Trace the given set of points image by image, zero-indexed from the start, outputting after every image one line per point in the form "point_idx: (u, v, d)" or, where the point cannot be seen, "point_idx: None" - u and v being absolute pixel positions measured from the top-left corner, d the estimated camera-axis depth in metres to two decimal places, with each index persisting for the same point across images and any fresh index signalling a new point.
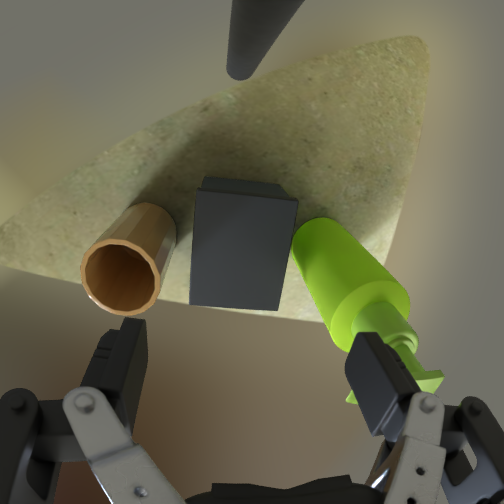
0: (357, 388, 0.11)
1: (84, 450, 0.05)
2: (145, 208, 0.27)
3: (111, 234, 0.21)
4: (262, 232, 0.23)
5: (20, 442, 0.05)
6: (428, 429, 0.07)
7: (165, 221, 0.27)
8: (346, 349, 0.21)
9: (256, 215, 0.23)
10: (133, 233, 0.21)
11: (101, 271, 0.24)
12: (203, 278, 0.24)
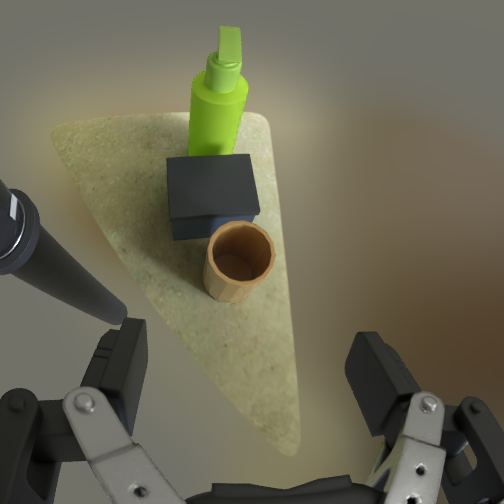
0: (357, 388, 0.11)
1: (84, 450, 0.05)
2: (203, 273, 0.35)
3: (208, 265, 0.28)
4: (191, 173, 0.33)
5: (20, 442, 0.05)
6: (428, 429, 0.07)
7: None
8: (245, 92, 0.30)
9: (180, 179, 0.32)
10: None
11: None
12: (235, 203, 0.33)
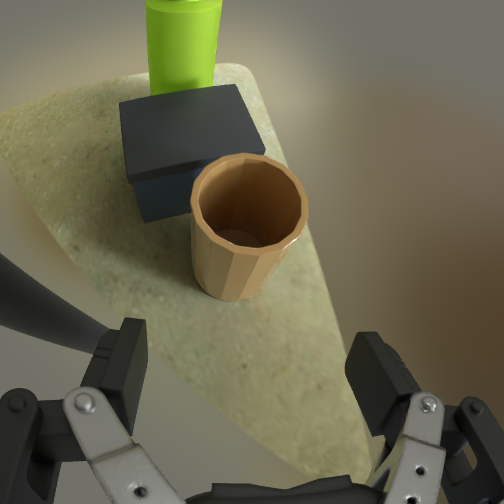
0: (357, 388, 0.11)
1: (83, 450, 0.05)
2: (192, 259, 0.22)
3: (197, 231, 0.16)
4: (156, 114, 0.21)
5: (20, 442, 0.05)
6: (428, 429, 0.07)
7: None
8: (218, 0, 0.18)
9: (140, 123, 0.20)
10: None
11: None
12: (225, 143, 0.20)
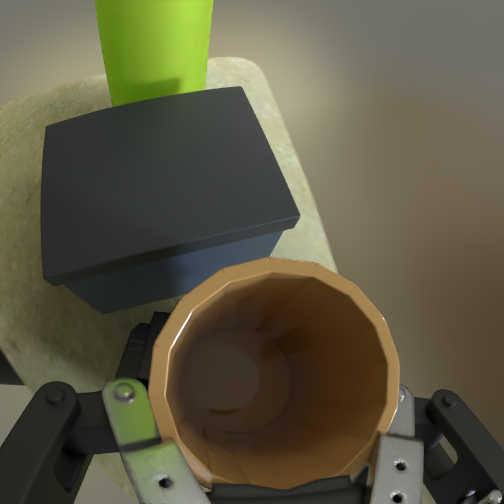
0: None
1: (116, 437, 0.06)
2: None
3: None
4: (100, 145, 0.11)
5: (52, 435, 0.05)
6: (400, 421, 0.07)
7: None
8: None
9: (72, 165, 0.11)
10: None
11: (316, 438, 0.09)
12: (225, 205, 0.11)
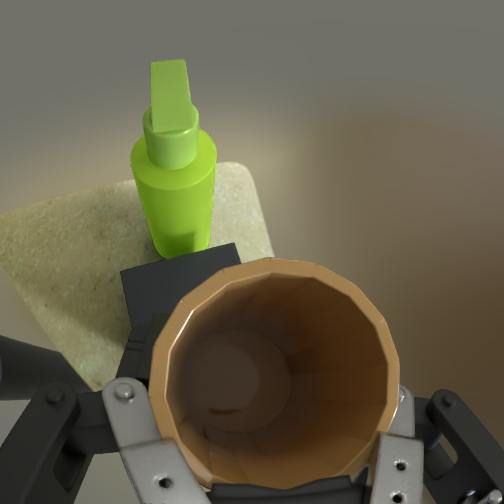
0: None
1: (116, 437, 0.06)
2: None
3: None
4: (158, 290, 0.23)
5: (52, 435, 0.05)
6: (400, 421, 0.07)
7: None
8: (212, 159, 0.21)
9: (144, 302, 0.23)
10: None
11: (316, 438, 0.09)
12: None
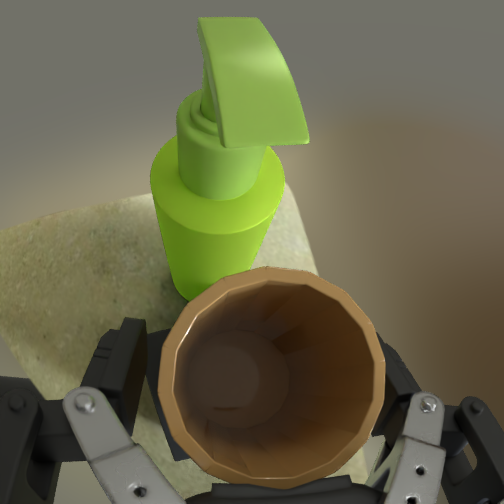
0: None
1: (83, 449, 0.05)
2: None
3: None
4: None
5: (20, 442, 0.05)
6: (428, 429, 0.07)
7: None
8: (279, 183, 0.14)
9: None
10: None
11: (311, 432, 0.10)
12: None
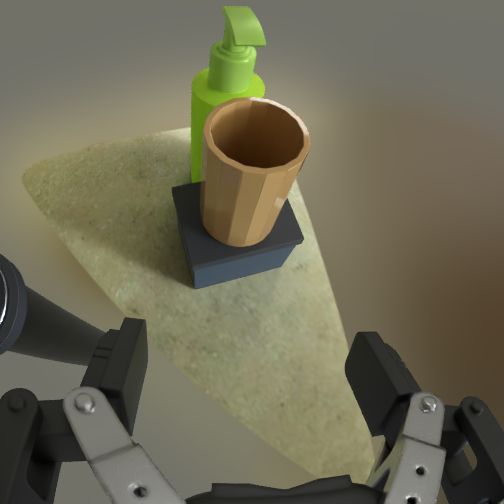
0: (357, 388, 0.11)
1: (84, 450, 0.05)
2: (200, 203, 0.23)
3: (208, 158, 0.17)
4: None
5: (20, 442, 0.05)
6: (428, 429, 0.07)
7: None
8: (262, 90, 0.23)
9: (195, 212, 0.25)
10: (202, 145, 0.18)
11: None
12: (271, 234, 0.26)
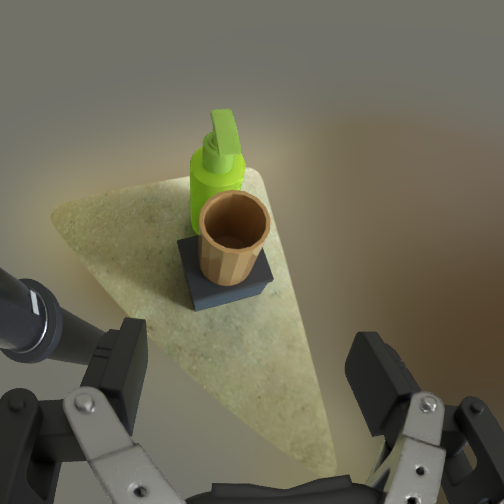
0: (357, 388, 0.11)
1: (84, 449, 0.05)
2: (198, 257, 0.33)
3: (203, 239, 0.27)
4: None
5: (20, 442, 0.05)
6: (428, 429, 0.07)
7: None
8: (243, 168, 0.33)
9: (195, 260, 0.35)
10: None
11: None
12: (249, 276, 0.36)
